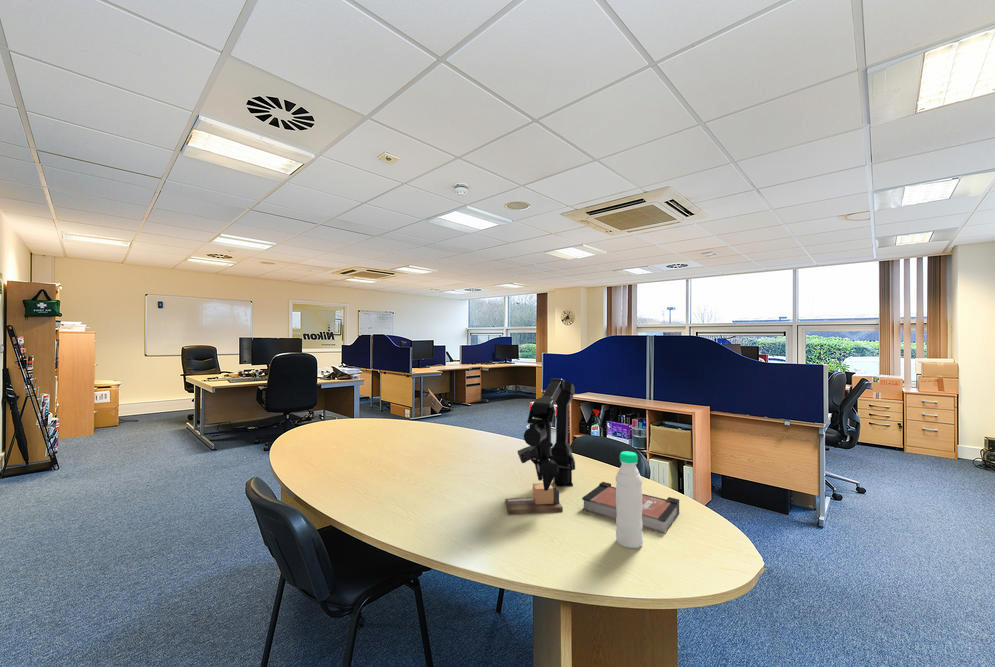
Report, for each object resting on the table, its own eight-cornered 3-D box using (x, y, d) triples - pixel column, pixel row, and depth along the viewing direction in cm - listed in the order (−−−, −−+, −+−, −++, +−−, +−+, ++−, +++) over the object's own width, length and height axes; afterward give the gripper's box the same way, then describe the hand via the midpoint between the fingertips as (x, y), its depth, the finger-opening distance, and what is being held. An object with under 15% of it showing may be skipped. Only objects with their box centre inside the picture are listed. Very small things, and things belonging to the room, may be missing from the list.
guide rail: (556, 499, 136) (556, 487, 136) (559, 504, 132) (559, 492, 132) (507, 501, 134) (507, 489, 134) (509, 506, 130) (508, 494, 130)
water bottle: (629, 552, 105) (628, 458, 105) (610, 540, 111) (610, 451, 111) (648, 545, 108) (647, 454, 108) (628, 534, 114) (628, 448, 115)
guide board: (555, 500, 138) (555, 496, 138) (562, 511, 129) (562, 507, 129) (505, 503, 136) (505, 498, 136) (508, 514, 127) (508, 509, 127)
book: (581, 512, 130) (581, 496, 130) (602, 495, 144) (602, 481, 144) (664, 536, 114) (664, 519, 114) (679, 514, 128) (679, 499, 128)
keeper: (549, 498, 136) (549, 482, 136) (553, 504, 131) (553, 488, 131) (532, 498, 135) (532, 483, 136) (535, 504, 130) (535, 489, 131)
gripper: (515, 433, 142) (515, 476, 142) (524, 447, 123) (524, 497, 123) (545, 432, 143) (545, 475, 143) (558, 446, 124) (559, 495, 124)
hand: (542, 485), depth 133 cm, fingers open, 9 cm apart
